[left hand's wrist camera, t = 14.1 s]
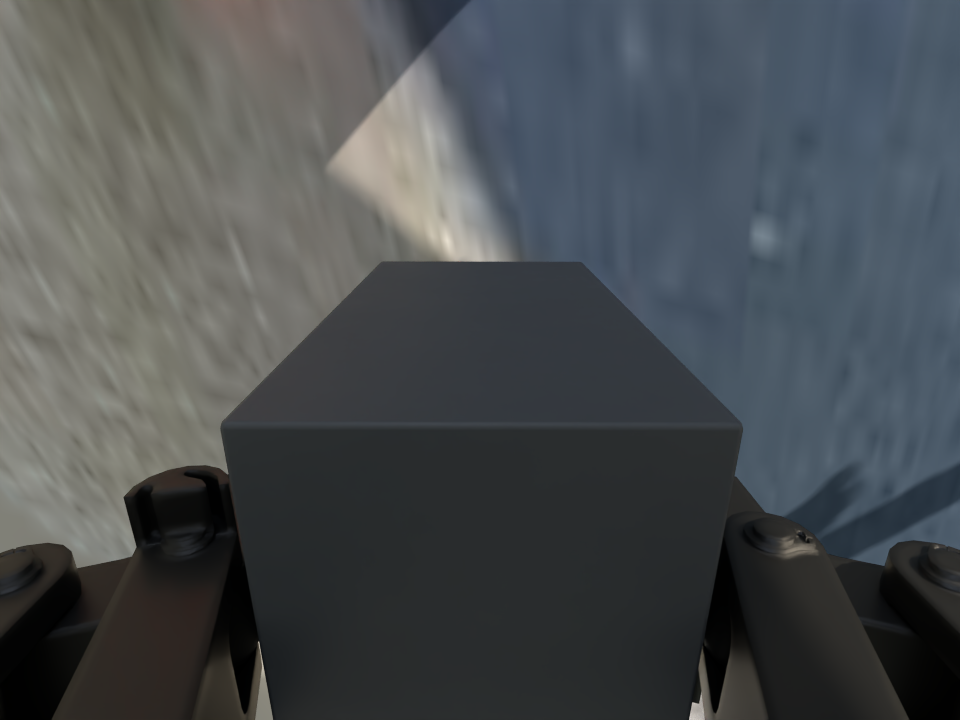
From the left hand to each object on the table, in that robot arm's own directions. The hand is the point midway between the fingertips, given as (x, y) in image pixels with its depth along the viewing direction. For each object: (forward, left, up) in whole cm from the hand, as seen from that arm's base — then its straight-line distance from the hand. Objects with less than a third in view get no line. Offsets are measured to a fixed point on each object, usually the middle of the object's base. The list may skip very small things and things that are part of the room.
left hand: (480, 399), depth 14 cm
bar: (+9, -1, -1) cm, 9 cm away
